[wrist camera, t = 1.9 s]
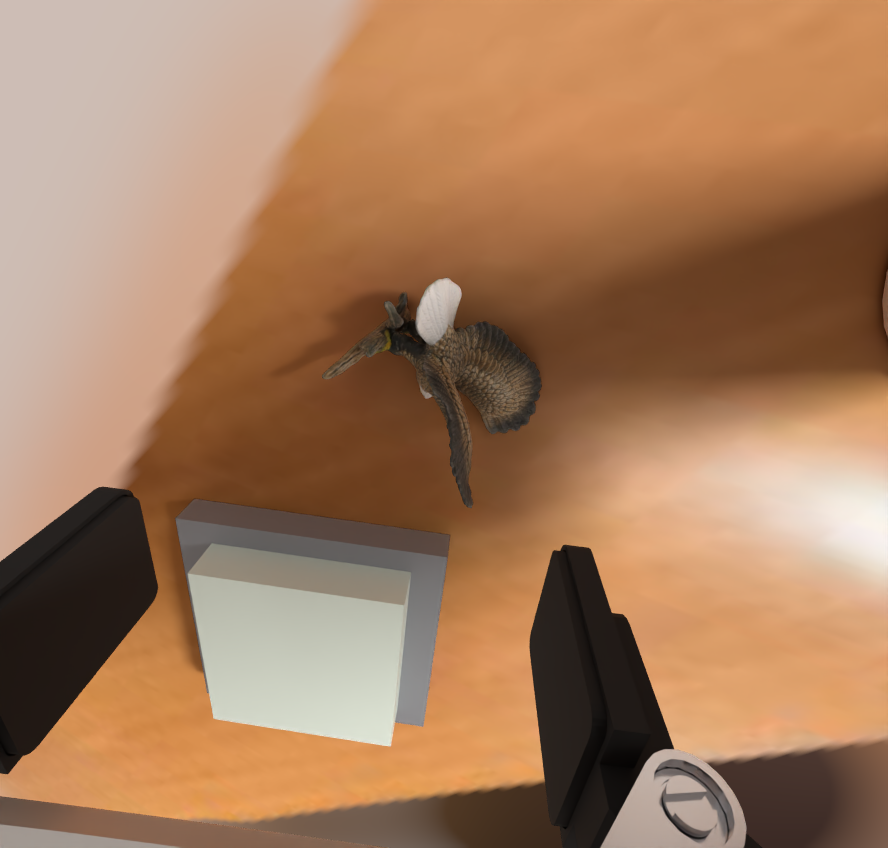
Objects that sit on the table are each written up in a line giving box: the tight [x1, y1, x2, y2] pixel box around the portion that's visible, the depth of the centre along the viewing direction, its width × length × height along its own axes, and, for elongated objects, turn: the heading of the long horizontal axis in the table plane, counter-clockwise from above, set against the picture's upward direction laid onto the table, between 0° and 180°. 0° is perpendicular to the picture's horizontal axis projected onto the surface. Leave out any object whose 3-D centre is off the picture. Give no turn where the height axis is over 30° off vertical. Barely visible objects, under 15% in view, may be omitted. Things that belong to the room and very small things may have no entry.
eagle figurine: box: [322, 278, 542, 508], centre depth 21 cm, size 8×7×9 cm
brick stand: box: [175, 499, 450, 747], centre depth 31 cm, size 16×16×5 cm
